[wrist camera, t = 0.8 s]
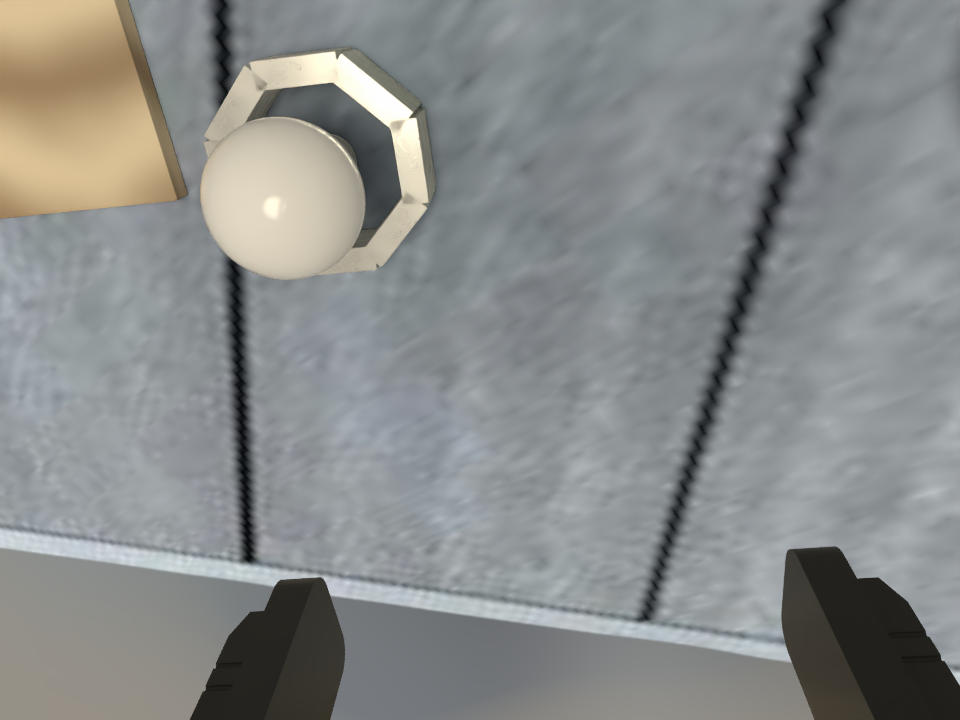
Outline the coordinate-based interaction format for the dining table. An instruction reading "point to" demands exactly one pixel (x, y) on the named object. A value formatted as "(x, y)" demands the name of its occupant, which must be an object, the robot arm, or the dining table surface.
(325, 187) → the lightbulb
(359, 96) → the collar
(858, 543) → the dining table surface
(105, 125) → the oak board
